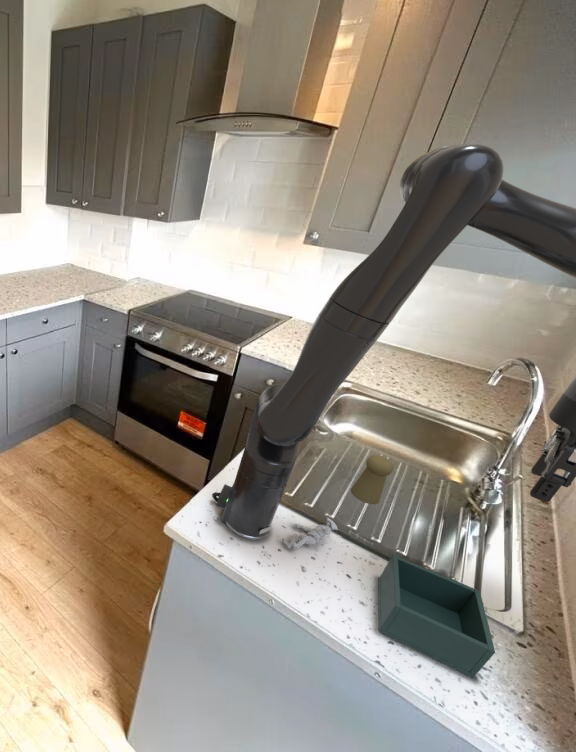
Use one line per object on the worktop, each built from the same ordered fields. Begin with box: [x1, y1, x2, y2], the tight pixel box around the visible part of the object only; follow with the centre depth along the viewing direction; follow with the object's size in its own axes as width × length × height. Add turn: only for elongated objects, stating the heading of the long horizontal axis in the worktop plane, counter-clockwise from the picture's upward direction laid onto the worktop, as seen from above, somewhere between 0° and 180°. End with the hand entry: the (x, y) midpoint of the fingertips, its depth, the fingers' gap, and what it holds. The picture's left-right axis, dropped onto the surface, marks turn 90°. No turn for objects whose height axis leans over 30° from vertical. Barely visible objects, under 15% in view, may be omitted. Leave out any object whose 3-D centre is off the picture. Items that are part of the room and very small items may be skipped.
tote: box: [377, 554, 496, 679], centre depth 73 cm, size 13×13×7 cm
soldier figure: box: [282, 517, 339, 551], centre depth 89 cm, size 8×5×12 cm
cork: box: [350, 454, 394, 505], centre depth 102 cm, size 6×6×11 cm
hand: (538, 486), depth 70 cm, fingers open, 8 cm apart
